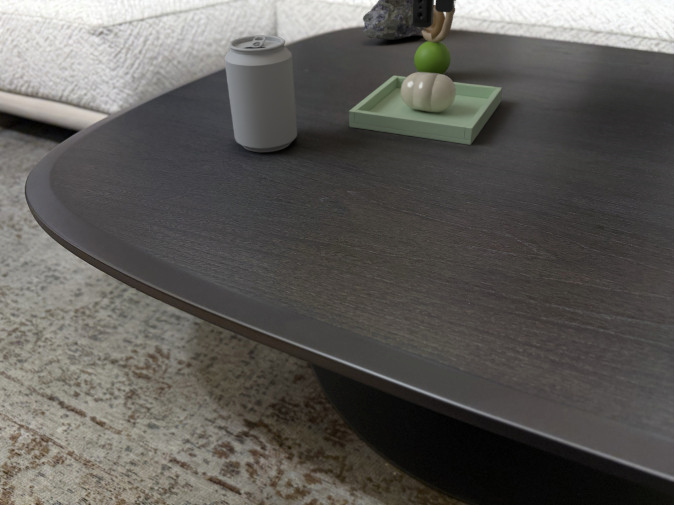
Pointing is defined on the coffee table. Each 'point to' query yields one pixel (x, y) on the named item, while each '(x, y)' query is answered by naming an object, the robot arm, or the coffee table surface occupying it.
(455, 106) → the tray
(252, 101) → the can
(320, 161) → the coffee table surface
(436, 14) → the snail figurine
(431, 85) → the cream lobed oval
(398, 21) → the mineral rock
